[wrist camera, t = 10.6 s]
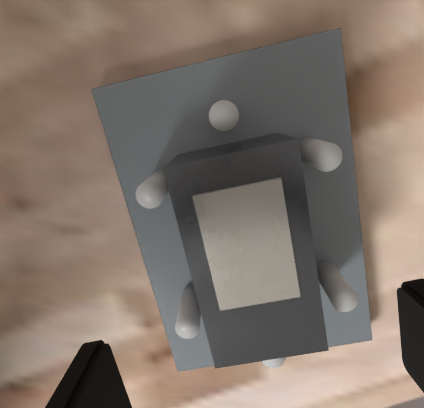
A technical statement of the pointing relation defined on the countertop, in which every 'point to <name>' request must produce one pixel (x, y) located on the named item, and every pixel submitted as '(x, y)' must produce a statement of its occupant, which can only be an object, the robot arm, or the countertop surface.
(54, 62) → the countertop surface
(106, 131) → the peg board
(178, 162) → the drive
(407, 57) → the countertop surface
